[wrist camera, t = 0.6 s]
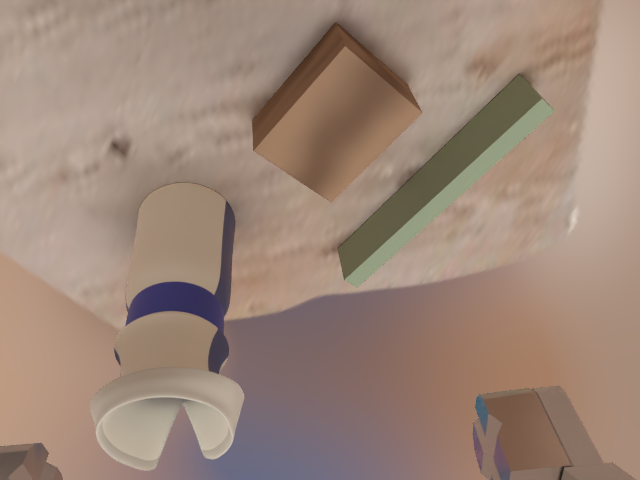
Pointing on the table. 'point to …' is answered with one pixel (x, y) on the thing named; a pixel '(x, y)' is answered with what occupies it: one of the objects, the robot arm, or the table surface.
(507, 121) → the green board
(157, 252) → the water bottle
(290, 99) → the walnut block
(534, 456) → the robot arm
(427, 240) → the table surface
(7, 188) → the table surface
